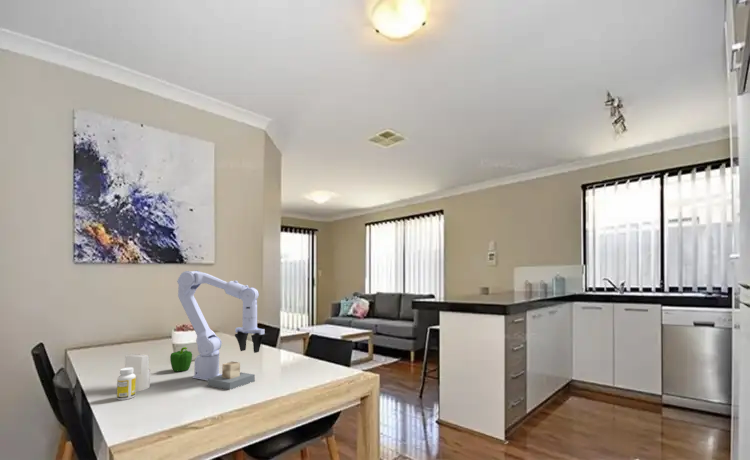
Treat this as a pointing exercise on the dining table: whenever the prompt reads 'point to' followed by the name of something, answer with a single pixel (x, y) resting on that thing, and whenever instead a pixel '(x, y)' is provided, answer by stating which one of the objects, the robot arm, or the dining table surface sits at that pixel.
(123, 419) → the dining table surface
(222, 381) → the slate plinth
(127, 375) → the supplement bottle
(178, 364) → the bell pepper
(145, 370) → the base with upright slab
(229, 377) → the ash block
